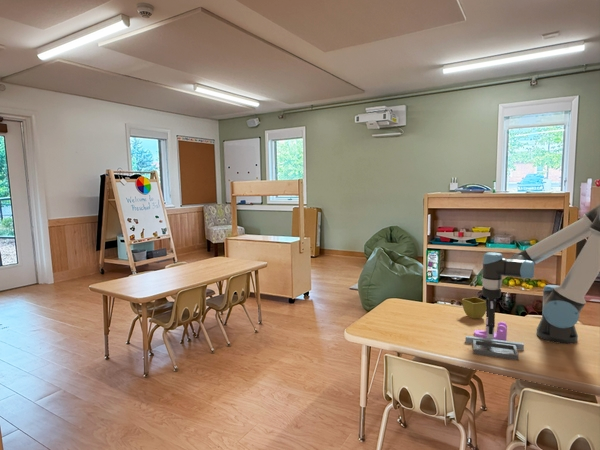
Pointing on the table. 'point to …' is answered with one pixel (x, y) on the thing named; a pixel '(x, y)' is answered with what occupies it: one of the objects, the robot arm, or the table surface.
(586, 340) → the table surface
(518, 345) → the door edge
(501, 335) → the bracket
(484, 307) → the flower pot
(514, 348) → the shallow rectangular tray
